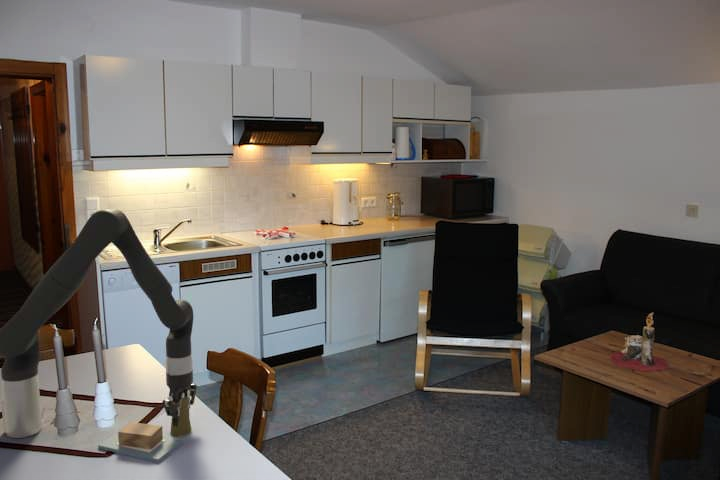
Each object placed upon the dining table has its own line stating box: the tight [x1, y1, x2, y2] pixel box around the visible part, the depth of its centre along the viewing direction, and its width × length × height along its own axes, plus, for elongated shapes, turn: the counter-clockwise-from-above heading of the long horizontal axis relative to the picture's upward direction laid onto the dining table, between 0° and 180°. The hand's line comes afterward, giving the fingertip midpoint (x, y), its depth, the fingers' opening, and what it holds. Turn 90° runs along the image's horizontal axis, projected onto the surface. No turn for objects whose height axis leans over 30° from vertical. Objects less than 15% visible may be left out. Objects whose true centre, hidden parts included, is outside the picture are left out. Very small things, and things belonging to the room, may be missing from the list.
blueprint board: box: [97, 432, 184, 464], centre depth 175 cm, size 20×11×1 cm, turn 70°
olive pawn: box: [170, 396, 192, 437], centre depth 183 cm, size 6×6×11 cm
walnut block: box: [117, 421, 164, 449], centre depth 174 cm, size 10×6×4 cm, turn 79°
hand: (181, 423), depth 183 cm, fingers closed on olive pawn, 3 cm apart
